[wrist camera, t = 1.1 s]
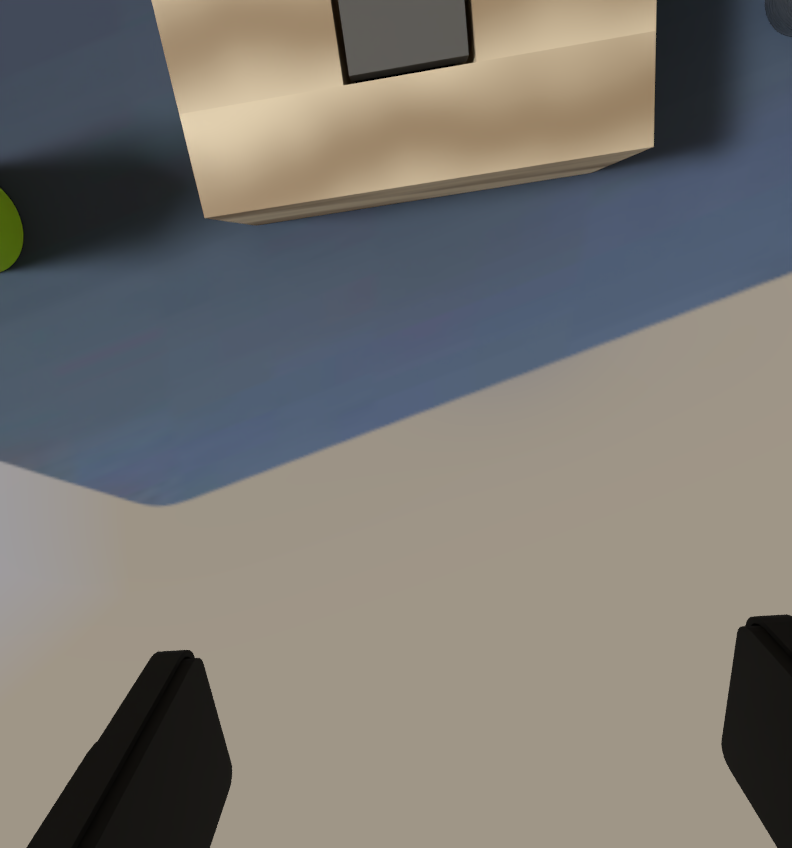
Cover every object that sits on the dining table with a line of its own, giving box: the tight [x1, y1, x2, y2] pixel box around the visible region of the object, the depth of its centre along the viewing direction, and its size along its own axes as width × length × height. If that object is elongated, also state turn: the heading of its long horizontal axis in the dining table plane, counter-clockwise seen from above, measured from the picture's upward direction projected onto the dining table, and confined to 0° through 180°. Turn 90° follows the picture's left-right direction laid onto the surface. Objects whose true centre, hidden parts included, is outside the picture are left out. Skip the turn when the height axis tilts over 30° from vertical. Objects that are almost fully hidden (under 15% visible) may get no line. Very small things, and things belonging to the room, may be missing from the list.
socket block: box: [152, 0, 657, 225], centre depth 24 cm, size 14×20×8 cm
